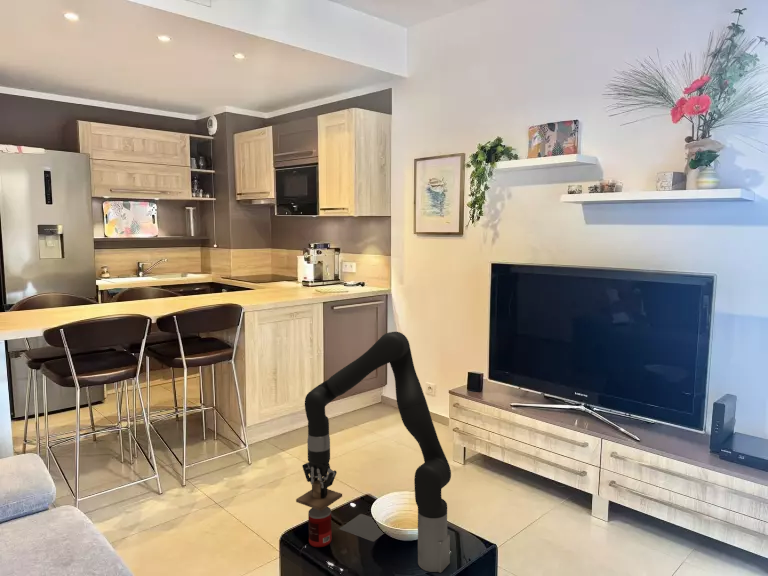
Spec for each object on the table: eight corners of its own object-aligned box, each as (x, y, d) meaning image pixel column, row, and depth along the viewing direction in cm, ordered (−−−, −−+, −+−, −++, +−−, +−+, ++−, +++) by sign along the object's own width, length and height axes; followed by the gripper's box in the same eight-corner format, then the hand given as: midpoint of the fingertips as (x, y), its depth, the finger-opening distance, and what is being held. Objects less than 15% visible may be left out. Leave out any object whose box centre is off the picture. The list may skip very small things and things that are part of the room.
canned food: (333, 536, 186) (333, 505, 185) (329, 549, 178) (328, 517, 177) (312, 535, 187) (311, 504, 186) (306, 548, 179) (305, 516, 178)
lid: (342, 496, 182) (341, 479, 182) (321, 510, 173) (320, 493, 173) (317, 488, 188) (317, 472, 188) (296, 501, 179) (295, 484, 179)
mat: (394, 526, 192) (394, 525, 192) (373, 542, 181) (373, 541, 181) (360, 514, 200) (360, 513, 200) (339, 530, 190) (339, 528, 190)
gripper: (342, 447, 179) (342, 497, 180) (310, 439, 187) (311, 486, 188) (327, 454, 173) (328, 506, 174) (295, 445, 180) (296, 495, 182)
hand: (319, 495), depth 181 cm, fingers closed on lid, 3 cm apart
